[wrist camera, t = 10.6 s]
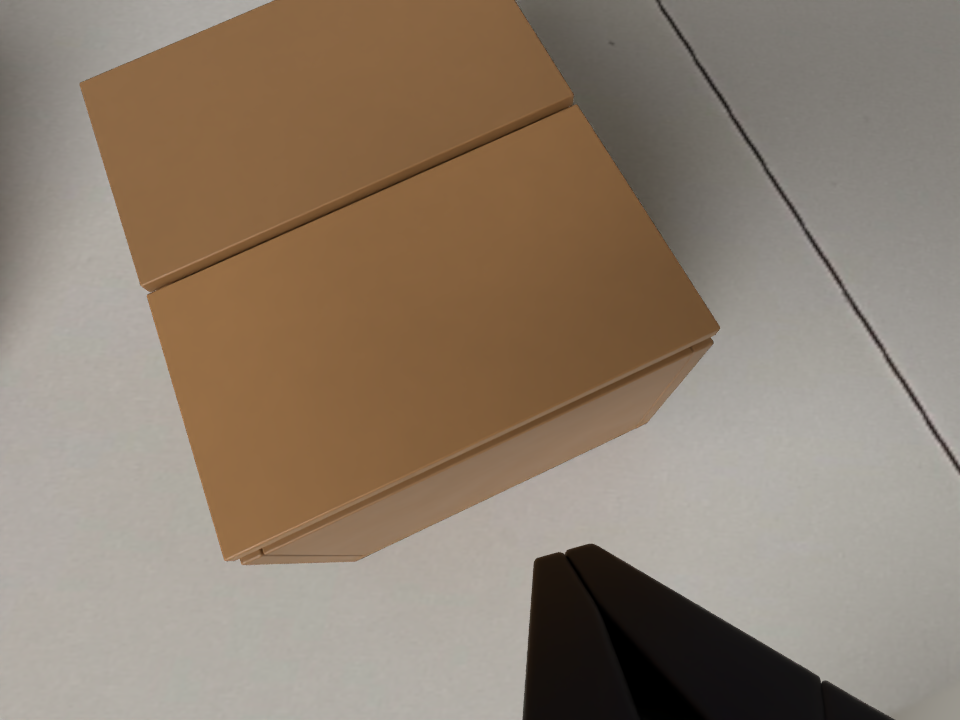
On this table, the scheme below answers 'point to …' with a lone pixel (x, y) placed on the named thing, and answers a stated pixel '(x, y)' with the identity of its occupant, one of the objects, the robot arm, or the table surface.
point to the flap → (417, 327)
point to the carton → (341, 188)
